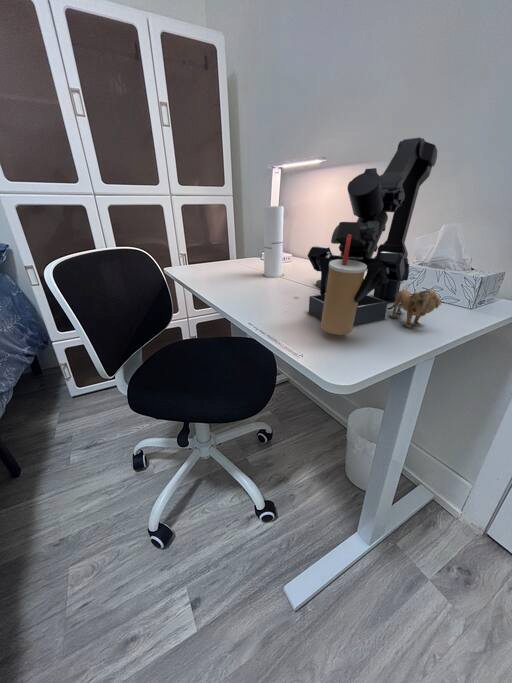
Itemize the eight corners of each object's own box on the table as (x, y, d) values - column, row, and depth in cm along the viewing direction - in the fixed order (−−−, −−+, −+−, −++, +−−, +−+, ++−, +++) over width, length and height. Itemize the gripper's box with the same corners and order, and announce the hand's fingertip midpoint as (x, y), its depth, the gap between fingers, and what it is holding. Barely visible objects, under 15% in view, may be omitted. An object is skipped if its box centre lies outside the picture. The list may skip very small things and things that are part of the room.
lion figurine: (438, 331, 64) (449, 291, 60) (417, 334, 63) (427, 293, 59) (395, 310, 77) (402, 276, 73) (377, 311, 76) (383, 277, 72)
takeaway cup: (341, 317, 66) (357, 229, 56) (359, 332, 60) (382, 237, 50) (313, 322, 64) (326, 231, 54) (330, 337, 58) (348, 239, 48)
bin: (351, 305, 81) (353, 289, 79) (384, 319, 71) (388, 301, 69) (308, 312, 76) (309, 296, 74) (337, 329, 66) (339, 310, 64)
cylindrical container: (282, 277, 113) (284, 206, 102) (264, 277, 113) (264, 206, 102) (281, 272, 120) (282, 206, 109) (264, 273, 120) (263, 206, 109)
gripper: (314, 205, 59) (283, 268, 56) (414, 204, 49) (381, 282, 46) (328, 241, 68) (302, 298, 65) (415, 247, 58) (388, 315, 55)
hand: (337, 298), depth 58 cm, fingers closed on takeaway cup, 7 cm apart
